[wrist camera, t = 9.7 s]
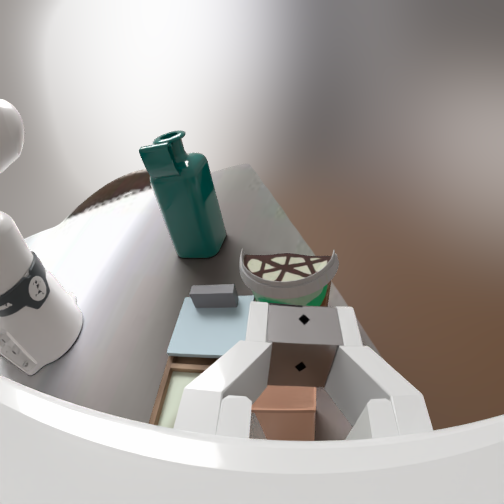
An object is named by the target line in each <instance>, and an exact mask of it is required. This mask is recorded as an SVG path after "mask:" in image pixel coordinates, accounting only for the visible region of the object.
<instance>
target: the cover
mask: <svg viewBox="0 0 504 504" xmlns="http://www.w3.org/2000/svg"><path fill="white" fill-rule="evenodd" d="M189 295H190V297H185V300H184V302H183V305H182V308H181V311H180V314H179V317H178V320H177V323H176V326H175V329H174V332H173V335H172V338H171V341H170V344H169V347H168V350H167V354H168V356H181V357H200V358H220V357H221V356H223V355H224V354H225V353H226V352H227V351H228V350H230V349H231V348H232V347H233V346H234V345H235V344H236V343H238V342H239V341H240V340H243V341H245V339H246V331H247V323H248V315H249V307H250V303H251V301H255V297H254V295H251V296H238V294H237V291H236V288H235V284H224V285H195V286H192V287H191V290H190V293H189Z"/></svg>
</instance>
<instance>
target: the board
mask: <svg viewBox="0 0 504 504" xmlns="http://www.w3.org/2000/svg"><path fill="white" fill-rule="evenodd" d="M255 301H256V300H255ZM218 359H219V358H200V357H181V356H169V358H168V361H167V364H166V367H165V370H164V374H163V377H162V380H161V383H160V387H159V390H158V393H157V397H156V400H155V403H154V407H153V410H152V414H151V417H150V420H149V424H152V425H157V426H162V427H167V428H173V427H174V424H175V420H176V416H177V413H178V409H179V405H180V401H181V398H182V394H183V391H184V388H185V387H186V386H187V385H188V384H190V383H191V382H192V381H193V380H194V379H196V378H197V377H198V376H199V375H200V374H202V373H203V372H204V371H205V370H206V369H207V368H209V367H210V366H211V365H212V364H213V363H214V362H216V361H217V360H218Z"/></svg>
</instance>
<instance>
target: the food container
mask: <svg viewBox="0 0 504 504" xmlns="http://www.w3.org/2000/svg"><path fill="white" fill-rule="evenodd" d="M338 265H339V261H338V258H337V254H335V252H334V251H333V255H332V256H306V255H299V254H290V253H284V254H274V255H245V253H244V251H243V249H242V251H241V255H240V275H241V278H242V280H243V282H244V283H245V284H246V286H248V287H249V288H250V289H251V290H252V292H253V294H254V297H255V300H256V302H267V303H268V304H269V303H280V304H292V305H303V306H322V307H327V306H328V299H329V292H330V285H331V280H332V278H333V277H334V275H335V274H336V272H337V269H338Z"/></svg>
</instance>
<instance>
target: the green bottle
mask: <svg viewBox="0 0 504 504" xmlns="http://www.w3.org/2000/svg"><path fill="white" fill-rule="evenodd" d="M184 136H185V132H184V131H173V132H169V133H166V134H164V135H161V136H159V137H157V138H156V139H155V140H154V142H153V144H154V145H149V146H144V147H141V148H140V150H139V153H140V156H141V158H142V160H143V163H144V165H145V167H146V169H147V171H148V173H149V174H150V184H151V187H152V189H153V192H154V195H155V198H156V201H157V203H158V206H159V209H160V211H161V214H162V217H163V220H164V222H165V225H166V227H167V230H168V233H169V235H170V238H171V240H172V243H173V246H174V248H175V251H176V253H177V255H178V256H179V257H182V258H210V257H213V256H214V255H216V254H217V253H218V252H219V250H220V248H221V246H222V243H223V241H224V239H225V237H226V230H225V226H224V222H223V219H222V215H221V211H220V207H219V203H218V200H217V196H216V192H215V188H214V184H213V181H212V177H211V173H210V169H209V165H208V161H207V159H206V157H205V156H204V155H202V154H200V153H189V154H187V153H186V152H185V150H184V147H183V143H182V138H183V137H184Z"/></svg>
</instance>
